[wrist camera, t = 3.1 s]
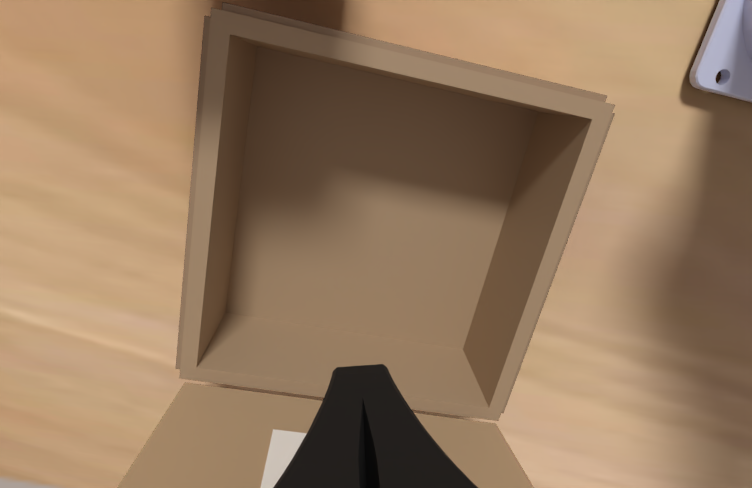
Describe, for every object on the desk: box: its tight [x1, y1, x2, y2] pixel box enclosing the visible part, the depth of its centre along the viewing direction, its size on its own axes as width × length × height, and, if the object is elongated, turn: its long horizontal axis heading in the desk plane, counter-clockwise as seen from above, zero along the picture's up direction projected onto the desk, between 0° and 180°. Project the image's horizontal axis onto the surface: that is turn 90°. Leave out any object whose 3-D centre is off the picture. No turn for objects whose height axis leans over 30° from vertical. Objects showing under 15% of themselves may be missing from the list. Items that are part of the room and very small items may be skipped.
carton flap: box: [117, 382, 534, 488], centre depth 11 cm, size 10×7×1 cm
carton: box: [176, 2, 615, 421], centre depth 15 cm, size 11×11×4 cm
